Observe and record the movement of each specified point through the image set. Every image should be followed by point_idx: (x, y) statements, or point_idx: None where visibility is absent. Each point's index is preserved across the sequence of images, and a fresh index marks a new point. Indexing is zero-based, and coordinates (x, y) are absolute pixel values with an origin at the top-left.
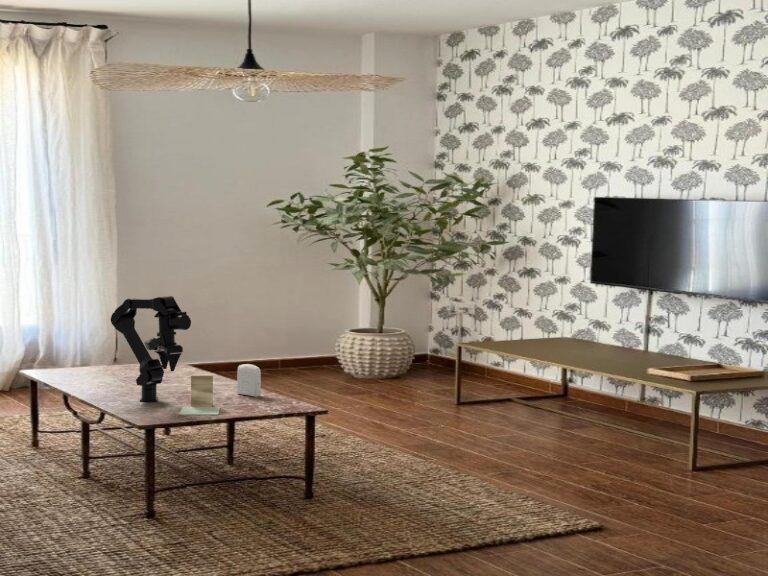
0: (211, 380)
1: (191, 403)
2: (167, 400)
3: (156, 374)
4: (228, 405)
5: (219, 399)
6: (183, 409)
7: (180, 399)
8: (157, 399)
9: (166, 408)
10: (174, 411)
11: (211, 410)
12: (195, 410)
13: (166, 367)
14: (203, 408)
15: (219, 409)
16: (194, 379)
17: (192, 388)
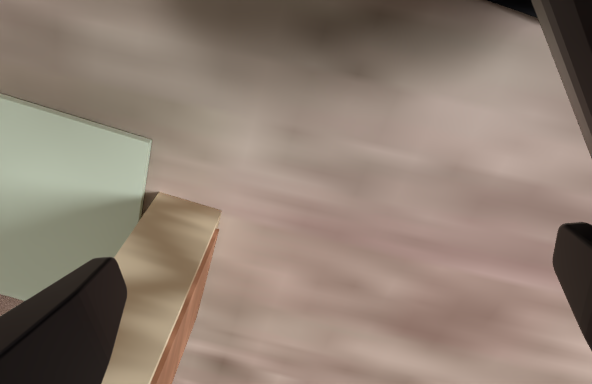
0: None
1: (147, 210)
2: (482, 99)
3: (560, 51)
4: (185, 367)
5: (369, 378)
6: (36, 122)
7: (474, 199)
8: (529, 14)
9: (133, 12)
10: (7, 49)
11: (9, 265)
12: (3, 186)
13: (564, 289)
14: (71, 243)
15: None
16: None
17: None
